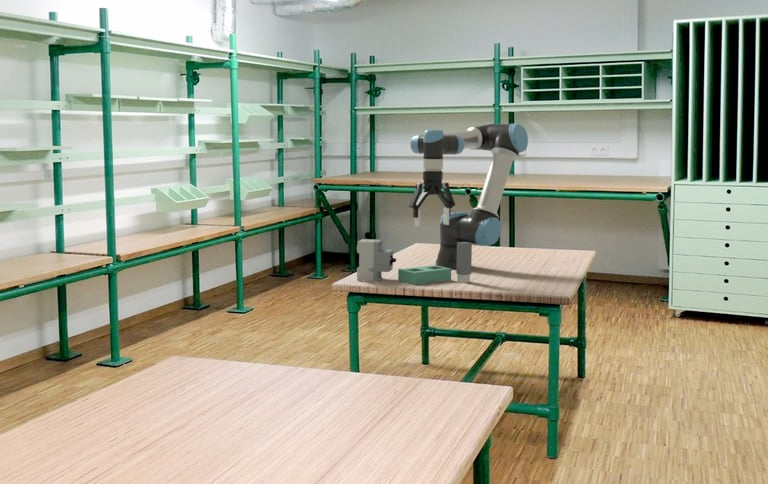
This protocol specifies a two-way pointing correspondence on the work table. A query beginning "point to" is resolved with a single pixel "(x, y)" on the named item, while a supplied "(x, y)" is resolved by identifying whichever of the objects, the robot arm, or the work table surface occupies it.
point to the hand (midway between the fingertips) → (431, 225)
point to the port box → (424, 274)
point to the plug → (464, 261)
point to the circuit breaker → (373, 260)
